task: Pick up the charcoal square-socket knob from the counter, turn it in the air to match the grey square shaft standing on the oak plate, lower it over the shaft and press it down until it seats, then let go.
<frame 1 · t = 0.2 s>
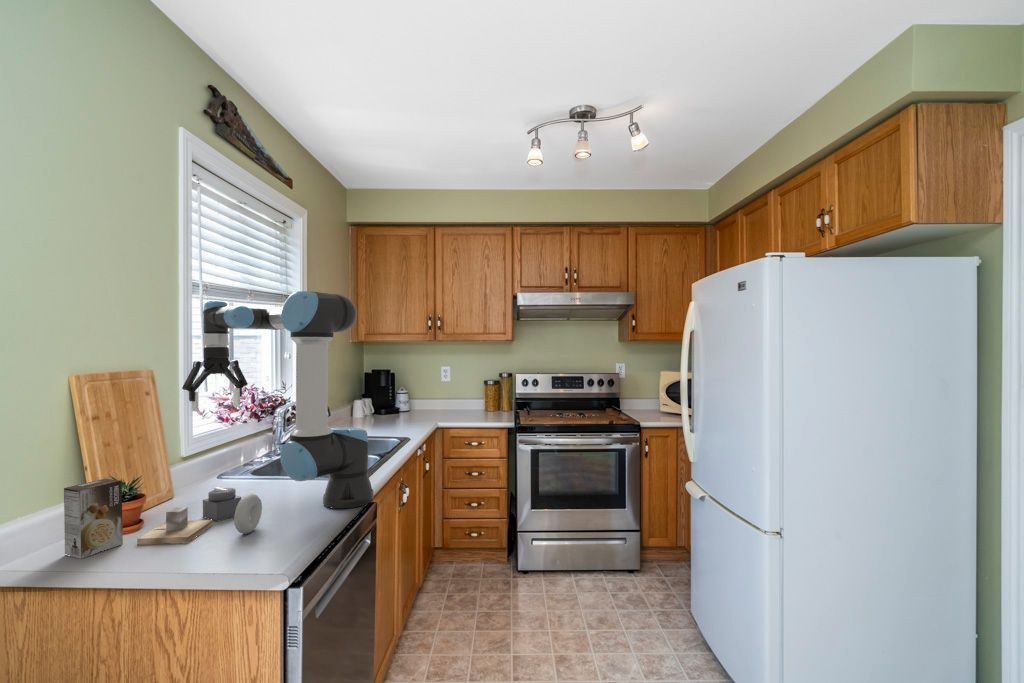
hand: (216, 409, 168), 28 cm above the counter, tool pointing down, fingers open, 13 cm apart
upright grey disc: (248, 533, 130), on the counter
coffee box: (94, 550, 119), on the counter
knob: (222, 515, 143), on the counter
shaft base: (177, 534, 129), on the counter
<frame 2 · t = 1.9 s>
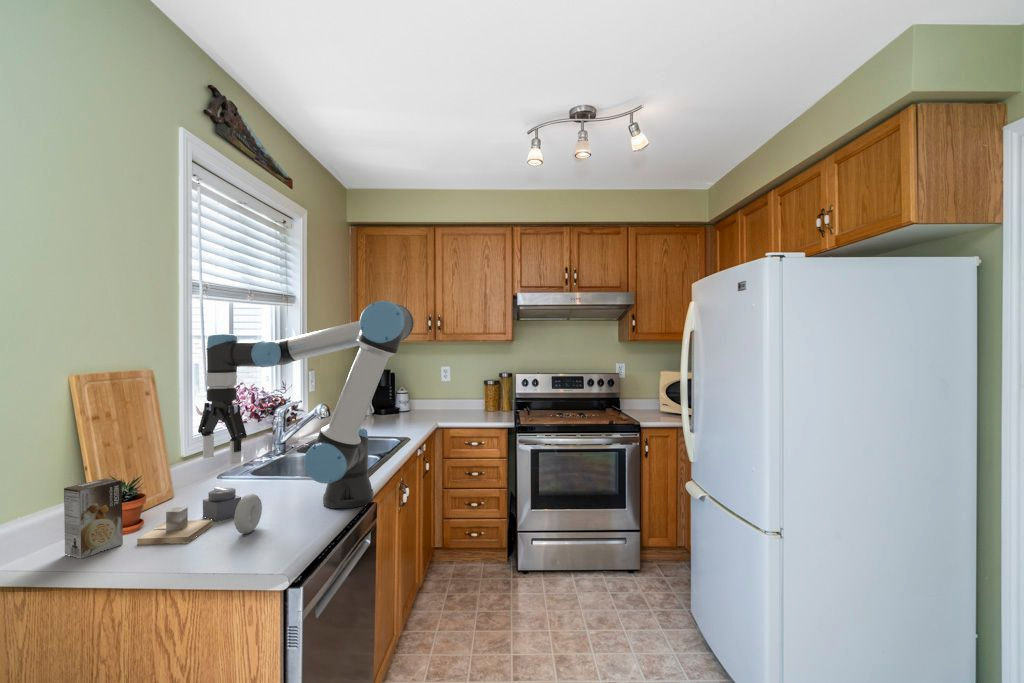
hand: (221, 460, 143), 16 cm above the counter, tool pointing down, fingers open, 13 cm apart
nothing on the counter moved.
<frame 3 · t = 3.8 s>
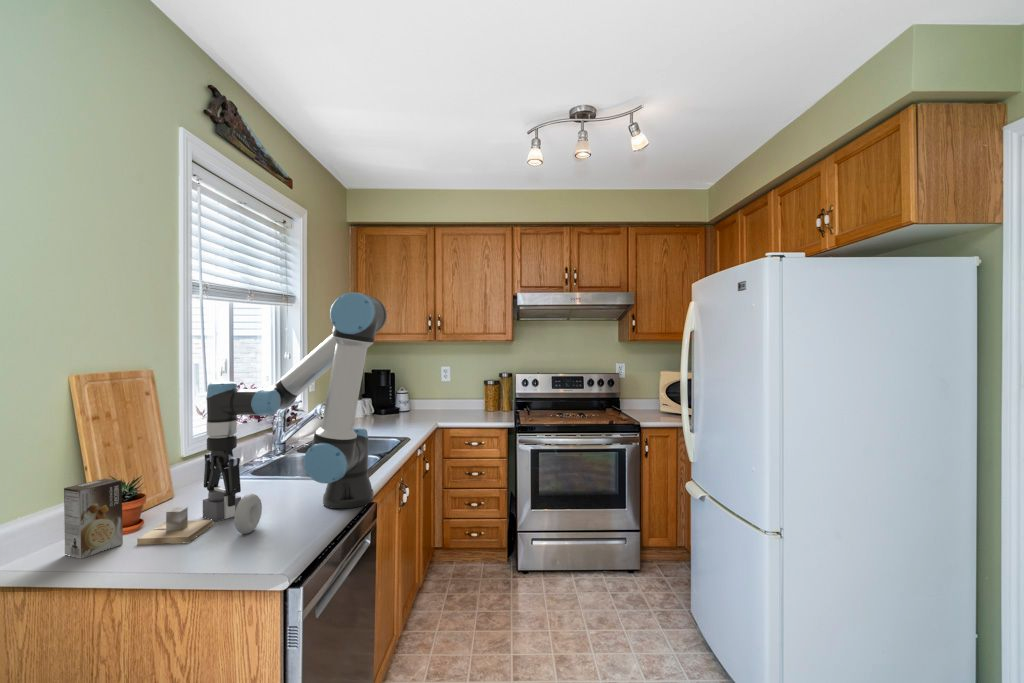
hand: (221, 514, 143), 0 cm above the counter, tool pointing down, fingers closed on knob, 7 cm apart
knob: (222, 515, 143), on the counter, touching gripper
everything else where it was.
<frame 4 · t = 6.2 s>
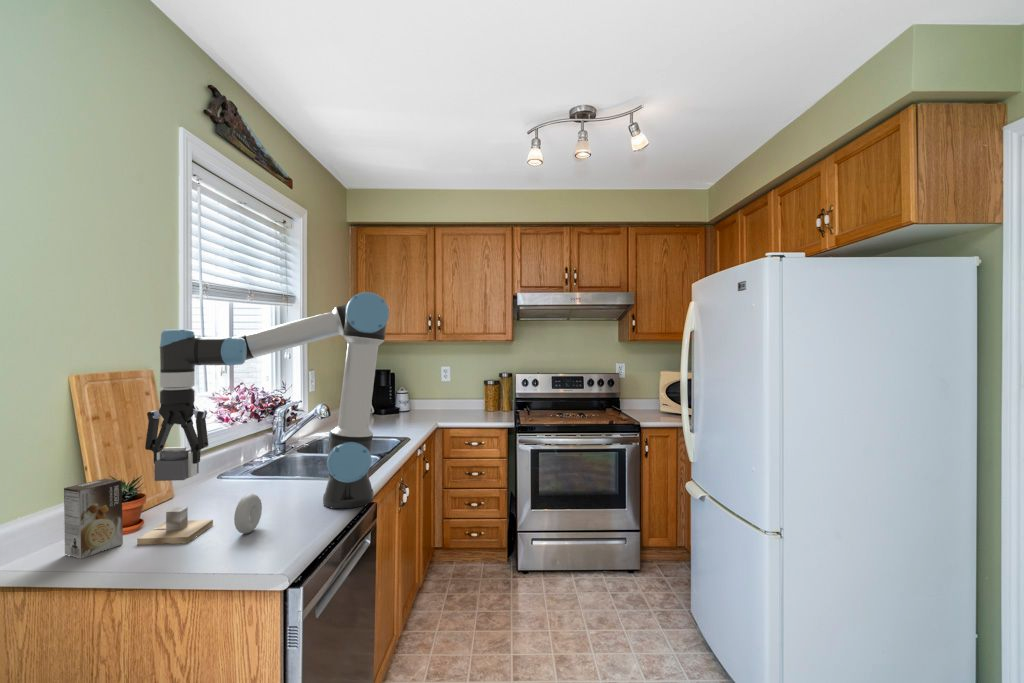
hand: (177, 476, 129), 15 cm above the counter, tool pointing down, fingers closed on knob, 7 cm apart
knob: (177, 476, 129), point 15 cm above the counter, touching gripper
everything else where it was.
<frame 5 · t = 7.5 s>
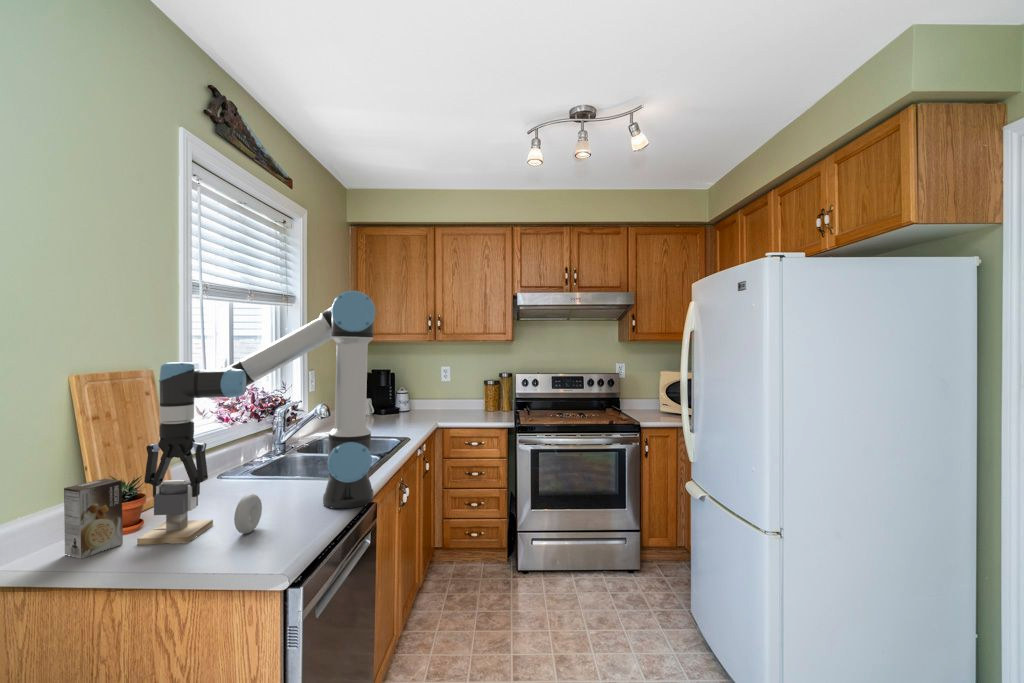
hand: (176, 509, 129), 7 cm above the counter, tool pointing down, fingers closed on knob, 7 cm apart
knob: (176, 510, 129), point 6 cm above the counter, touching gripper
everything else where it was.
when the fingers open (4 cm above the counter, at t = 8.4 s): knob drops 2 cm, resting on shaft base.
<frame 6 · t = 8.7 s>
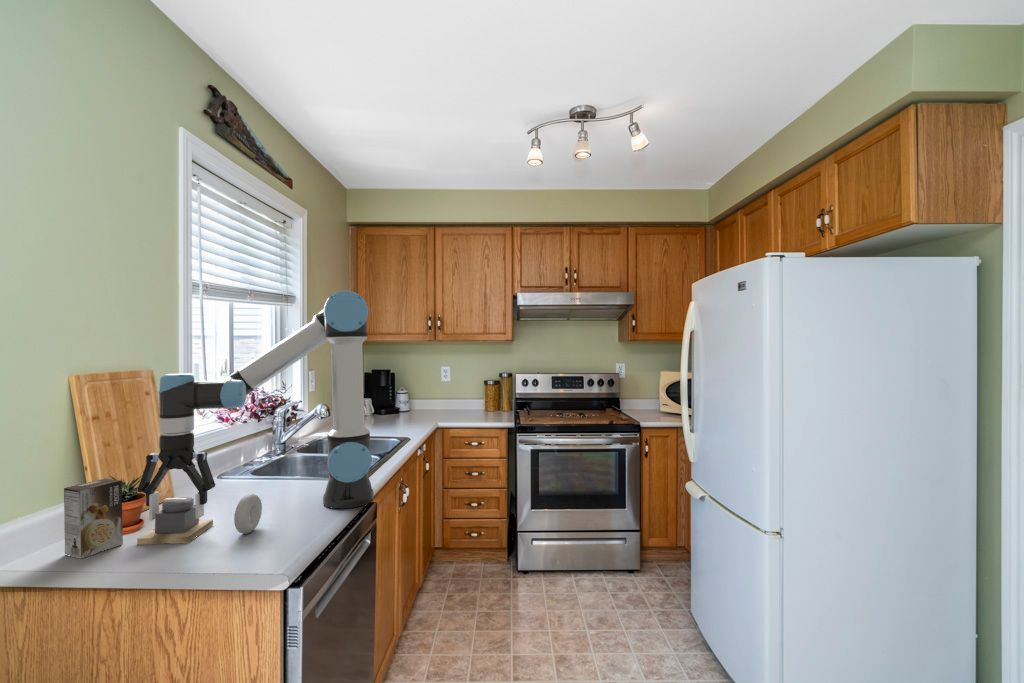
hand: (177, 517, 129), 4 cm above the counter, tool pointing down, fingers open, 10 cm apart
knob: (177, 528, 129), point 2 cm above the counter, touching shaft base
everything else where it was.
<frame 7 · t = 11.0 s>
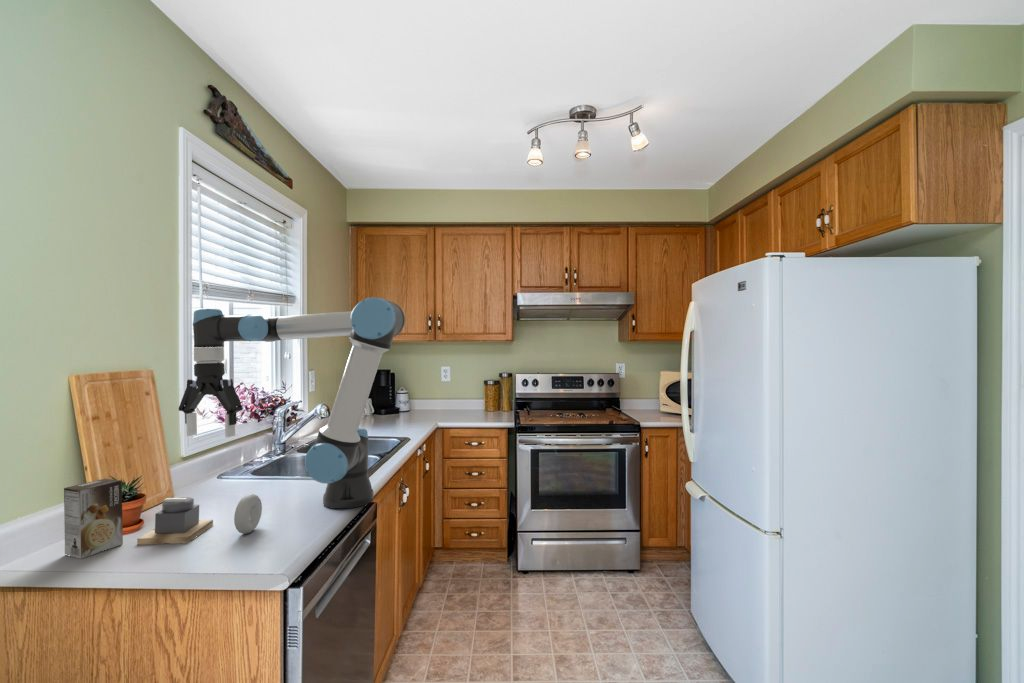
hand: (210, 436, 143), 23 cm above the counter, tool pointing down, fingers open, 13 cm apart
nothing on the counter moved.
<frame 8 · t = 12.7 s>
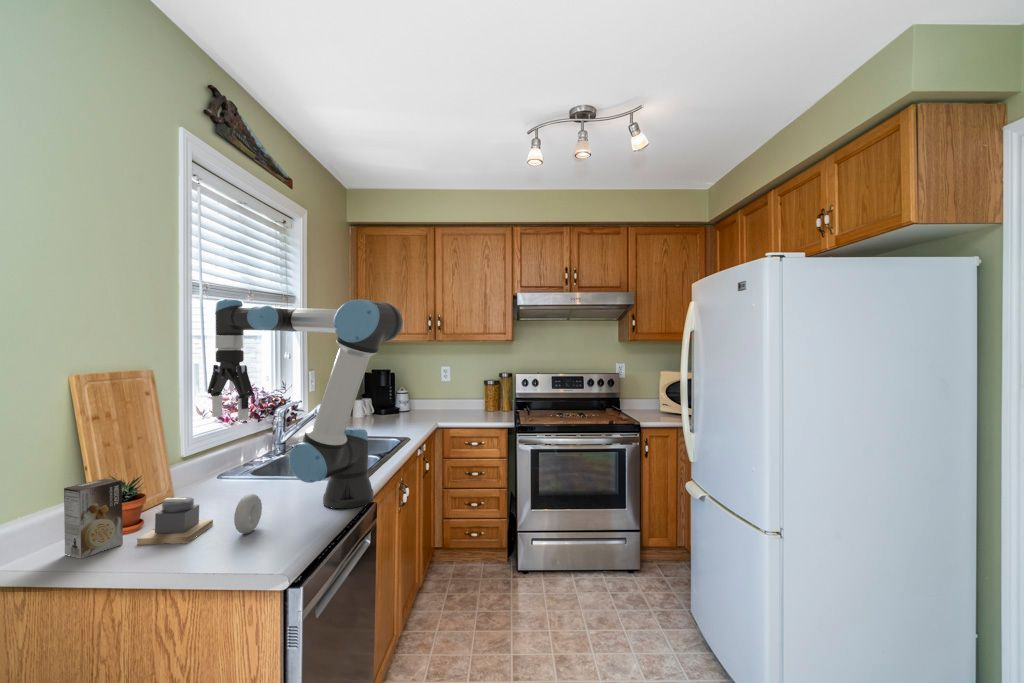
hand: (229, 418, 153), 27 cm above the counter, tool pointing down, fingers open, 13 cm apart
nothing on the counter moved.
at the end: knob 0.1 cm off-centre on the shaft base, point 1.6 cm above the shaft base's base; knob tilted 2°; the gripper is holding nothing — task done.
